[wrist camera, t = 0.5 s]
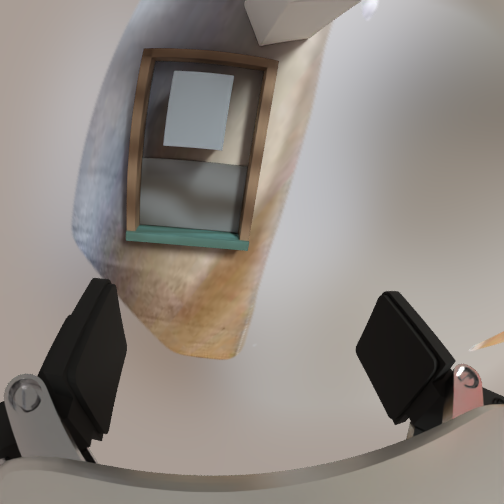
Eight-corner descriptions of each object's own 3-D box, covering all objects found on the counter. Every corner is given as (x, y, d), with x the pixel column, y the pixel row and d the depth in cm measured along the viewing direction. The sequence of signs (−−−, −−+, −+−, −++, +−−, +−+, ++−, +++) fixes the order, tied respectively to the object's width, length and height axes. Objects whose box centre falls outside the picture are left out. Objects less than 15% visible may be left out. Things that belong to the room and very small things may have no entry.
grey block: (181, 81, 29) (174, 70, 23) (230, 85, 30) (234, 75, 24) (172, 141, 32) (163, 145, 26) (220, 145, 34) (222, 150, 27)
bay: (148, 53, 26) (142, 47, 24) (274, 64, 29) (279, 60, 27) (131, 231, 37) (125, 240, 34) (245, 241, 40) (247, 250, 37)
